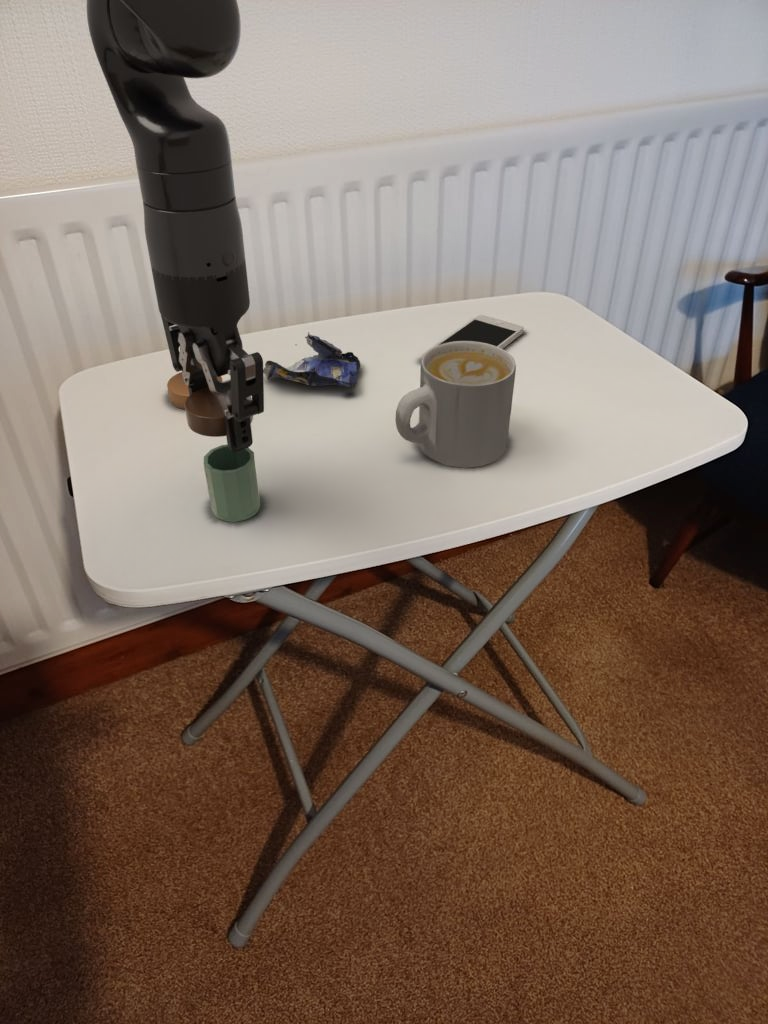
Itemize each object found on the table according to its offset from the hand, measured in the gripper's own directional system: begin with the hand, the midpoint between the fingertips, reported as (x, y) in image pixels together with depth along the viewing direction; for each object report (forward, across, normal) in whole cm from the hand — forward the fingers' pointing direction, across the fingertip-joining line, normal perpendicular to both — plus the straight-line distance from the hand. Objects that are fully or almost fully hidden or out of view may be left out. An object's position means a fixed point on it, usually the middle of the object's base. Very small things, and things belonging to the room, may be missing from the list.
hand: (222, 432), depth 73 cm
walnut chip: (-1, 0, 0) cm, 1 cm away
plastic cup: (+9, 0, 0) cm, 9 cm away
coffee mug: (+9, +5, +25) cm, 27 cm away
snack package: (+9, -16, +22) cm, 28 cm away
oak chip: (+9, -22, +8) cm, 25 cm away
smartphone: (+9, -10, +43) cm, 45 cm away
